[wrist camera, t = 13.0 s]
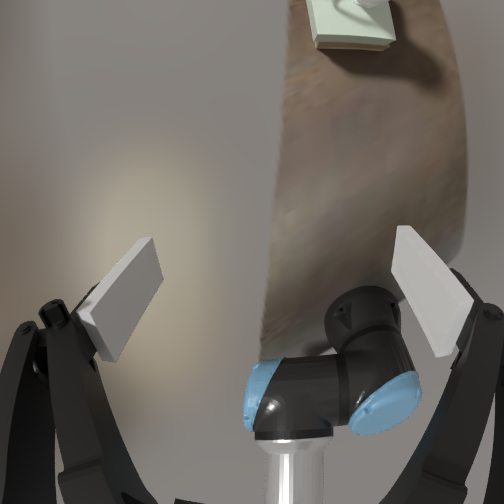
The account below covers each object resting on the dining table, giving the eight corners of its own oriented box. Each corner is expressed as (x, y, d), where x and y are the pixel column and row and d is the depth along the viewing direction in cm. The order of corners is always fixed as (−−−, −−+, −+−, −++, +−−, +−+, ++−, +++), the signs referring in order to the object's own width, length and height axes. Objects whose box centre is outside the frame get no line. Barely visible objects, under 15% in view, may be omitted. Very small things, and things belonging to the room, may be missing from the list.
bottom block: (380, 51, 31) (390, 47, 27) (315, 49, 32) (319, 43, 28) (365, -18, 25) (373, -27, 21) (302, -21, 26) (304, -32, 23)
